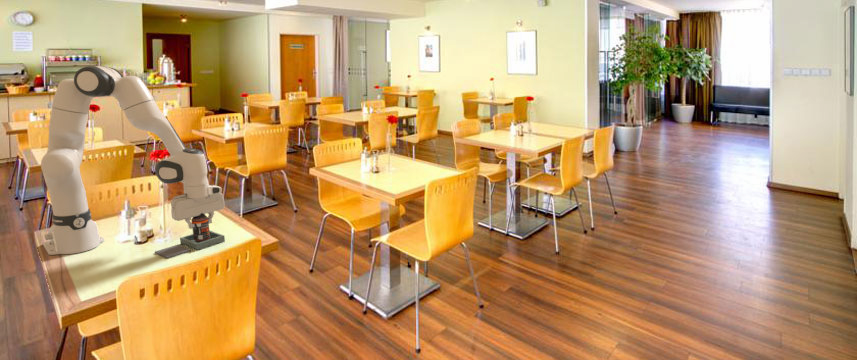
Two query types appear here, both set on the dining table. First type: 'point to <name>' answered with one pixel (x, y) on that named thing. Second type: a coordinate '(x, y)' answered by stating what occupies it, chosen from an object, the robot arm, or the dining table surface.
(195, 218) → the supplement bottle
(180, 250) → the mat
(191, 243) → the tray
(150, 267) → the dining table surface
